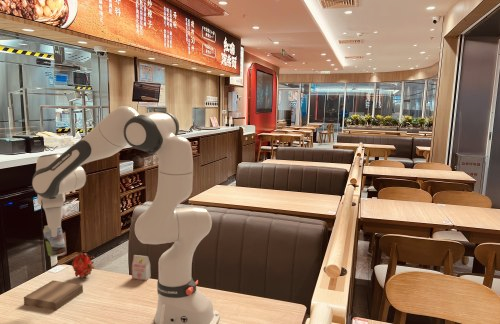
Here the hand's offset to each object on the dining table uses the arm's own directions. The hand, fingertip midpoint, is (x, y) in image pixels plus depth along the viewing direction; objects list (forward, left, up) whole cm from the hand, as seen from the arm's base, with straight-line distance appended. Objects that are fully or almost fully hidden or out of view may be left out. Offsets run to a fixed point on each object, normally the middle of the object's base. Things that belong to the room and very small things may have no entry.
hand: (53, 233), depth 137 cm
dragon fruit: (+2, -17, -26) cm, 31 cm away
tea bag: (-21, -24, -26) cm, 41 cm away
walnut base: (+1, +1, -26) cm, 26 cm away
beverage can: (-1, +1, -8) cm, 8 cm away
